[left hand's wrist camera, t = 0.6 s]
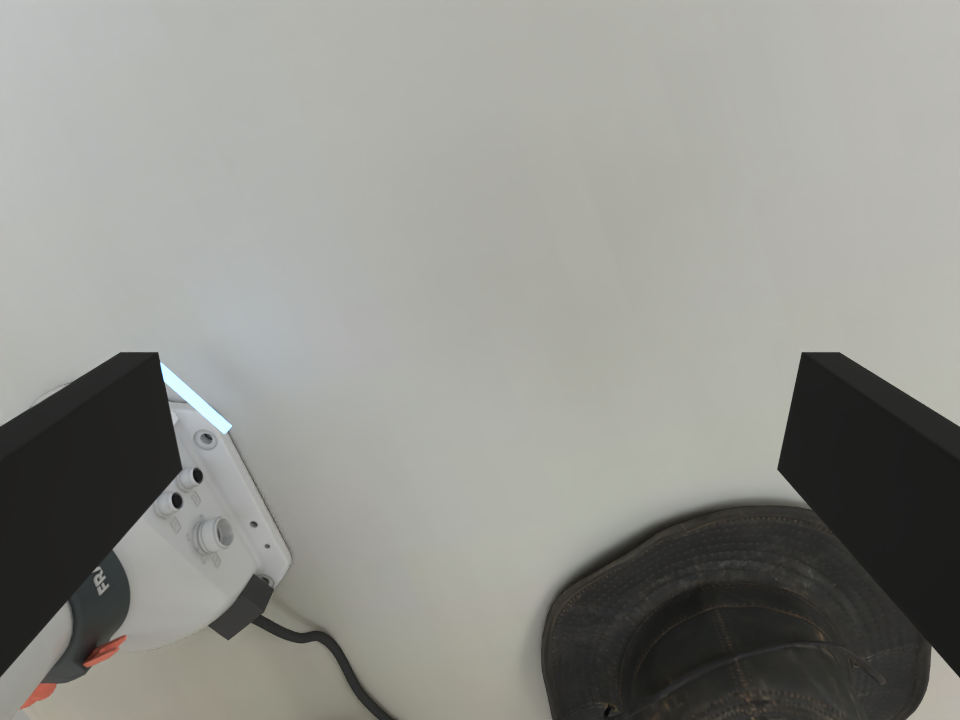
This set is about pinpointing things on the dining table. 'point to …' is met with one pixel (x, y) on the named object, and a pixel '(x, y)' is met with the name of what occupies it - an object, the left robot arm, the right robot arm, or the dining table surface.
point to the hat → (733, 629)
